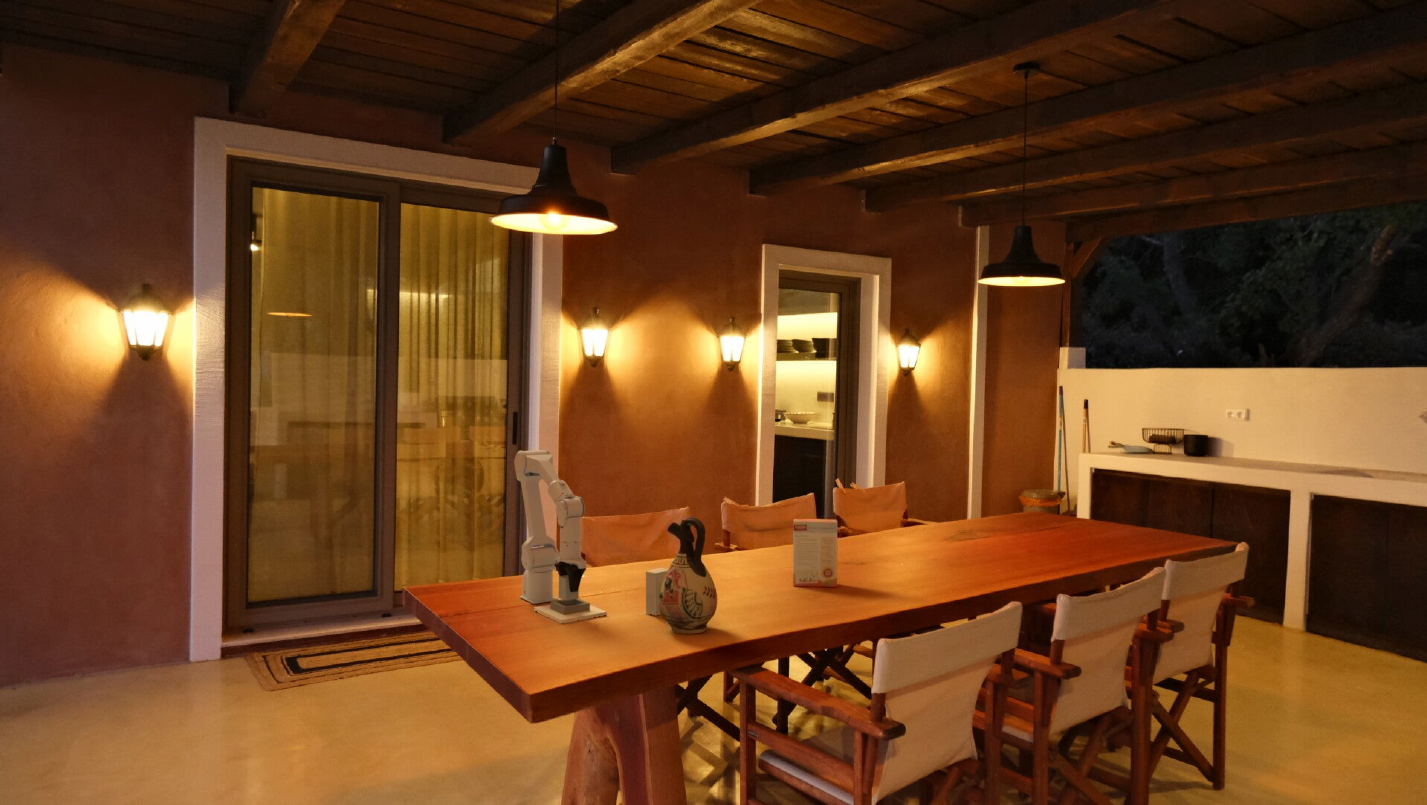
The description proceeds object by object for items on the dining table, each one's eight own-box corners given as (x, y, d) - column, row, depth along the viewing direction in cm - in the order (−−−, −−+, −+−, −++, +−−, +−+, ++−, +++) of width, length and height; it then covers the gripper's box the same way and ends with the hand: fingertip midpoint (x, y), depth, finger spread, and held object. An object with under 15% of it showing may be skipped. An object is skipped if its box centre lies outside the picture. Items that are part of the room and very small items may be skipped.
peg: (558, 597, 247) (558, 576, 247) (571, 595, 250) (571, 574, 249) (565, 600, 244) (565, 578, 244) (578, 598, 247) (578, 576, 246)
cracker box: (836, 583, 286) (837, 518, 285) (837, 588, 280) (838, 521, 279) (792, 582, 287) (793, 517, 286) (792, 586, 281) (793, 520, 280)
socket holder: (534, 610, 249) (534, 600, 249) (578, 603, 258) (578, 593, 258) (561, 623, 237) (561, 612, 237) (606, 615, 245) (606, 604, 245)
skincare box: (659, 609, 252) (660, 567, 252) (670, 612, 250) (671, 569, 249) (644, 613, 248) (645, 570, 247) (656, 616, 245) (656, 573, 244)
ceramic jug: (645, 629, 232) (646, 515, 231) (689, 618, 243) (690, 509, 242) (690, 643, 220) (691, 523, 219) (733, 631, 231) (734, 516, 230)
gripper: (545, 538, 250) (545, 586, 250) (570, 547, 239) (570, 597, 239) (567, 536, 254) (567, 583, 255) (593, 544, 243) (593, 593, 243)
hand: (570, 589), depth 247 cm, fingers closed on peg, 4 cm apart
